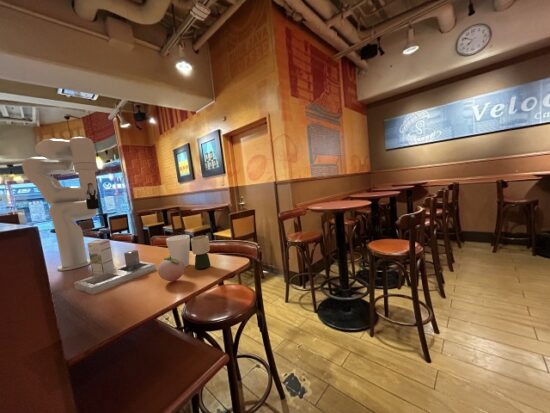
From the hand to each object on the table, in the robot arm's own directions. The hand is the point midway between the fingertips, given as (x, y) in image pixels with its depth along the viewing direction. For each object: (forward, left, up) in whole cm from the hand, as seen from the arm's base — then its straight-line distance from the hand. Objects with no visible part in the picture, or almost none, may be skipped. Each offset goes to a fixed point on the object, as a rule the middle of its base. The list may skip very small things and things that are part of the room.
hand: (93, 208), depth 96 cm
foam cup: (+29, +17, -28) cm, 44 cm away
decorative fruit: (+40, +4, -28) cm, 49 cm away
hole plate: (+14, -1, -28) cm, 32 cm away
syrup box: (0, 0, -28) cm, 28 cm away
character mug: (+40, +19, -28) cm, 53 cm away
